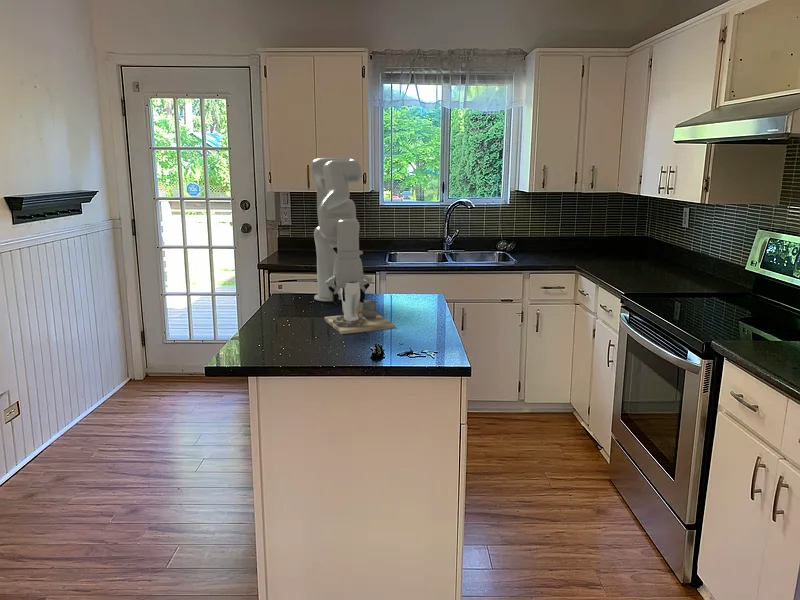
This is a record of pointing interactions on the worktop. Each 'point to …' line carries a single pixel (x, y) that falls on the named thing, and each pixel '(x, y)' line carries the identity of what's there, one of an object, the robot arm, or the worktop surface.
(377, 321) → the carrier board
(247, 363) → the worktop surface
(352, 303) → the beer glass
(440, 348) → the worktop surface
